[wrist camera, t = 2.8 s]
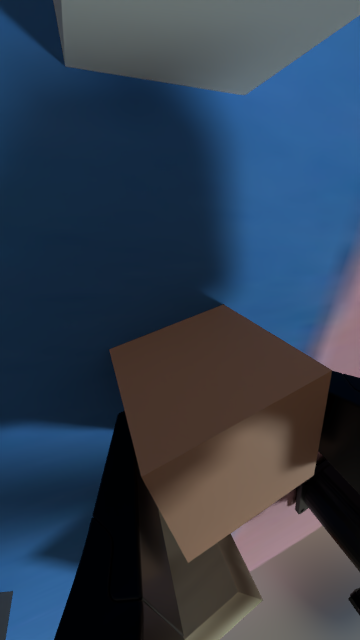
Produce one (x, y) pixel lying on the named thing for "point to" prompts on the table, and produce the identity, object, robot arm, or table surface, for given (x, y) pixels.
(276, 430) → the brown block
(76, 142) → the table surface
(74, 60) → the off-white block
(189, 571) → the birch block
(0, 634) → the charcoal block
